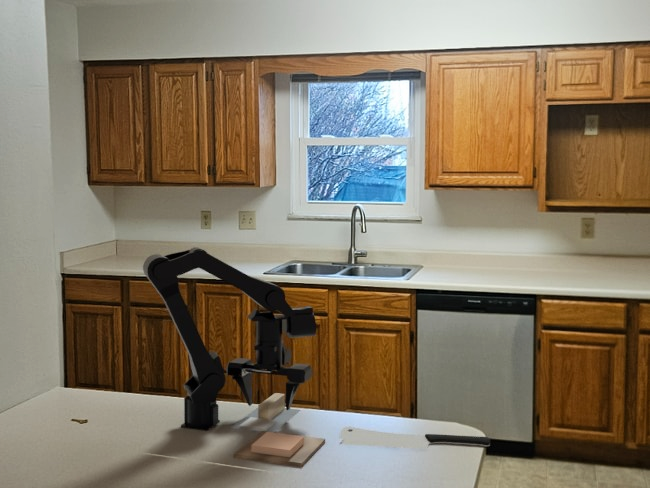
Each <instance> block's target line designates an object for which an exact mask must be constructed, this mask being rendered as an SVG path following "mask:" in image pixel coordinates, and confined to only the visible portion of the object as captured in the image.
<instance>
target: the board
mask: <svg viewBox="0 0 650 488" xmlns="http://www.w3.org/2000/svg"><path fill="white" fill-rule="evenodd" d="M266 432H269V431H261V432H258V434H257V435H255V436H253V438H251V439H250V440H249V441H248V442H246V443H245V444H244V445H243V446H241V447H240V448H239V449H238V450H237V451H235V452H234V453H233V458H234V459H235V458H236V459H242V460H243V459H244V460H249V461H256V462H257V461H258V462H264V463H271V464H278V465H284V466H292V467H300V468H302V467H303V466H304V465H305V464H307V462H308V461H309V460H310V459H311V458H312V457H313V456H314V455H315V454H316V452H317V451H319V450H320V448H321V447H322V446H324V444H325V443H326V438H321V437H314V436H307V435H303V436H304V444H303V445H302V446H301V447H300V448H299V449H298V450H297V451H296V452H295V453H294V454H293V455H292V456H291V457H290V458H287V457H280V456H273V455H266V454H259V453H253V452H251V445H252V444H253V443H254V442H256V441H257V440H258V439H259V438H260V437H262V436H263V435H264V434H265V433H266ZM273 433H277V431H276V432H273ZM280 433H281V434H285V433H283V432H280ZM287 434H288V435H293V433H292V434H290V433H287ZM295 435H296V436H301V435H298V434H295Z"/></svg>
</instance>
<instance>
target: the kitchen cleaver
mask: <svg viewBox="0 0 650 488" xmlns="http://www.w3.org/2000/svg"><path fill="white" fill-rule="evenodd" d="M338 439H340V440H341V439H343V440H341V442H339V445H344V446H345V445H347V446H364V447H365V446H366V447H381V448H382V447H383V448H398V449H401V448H402V449H415V450H416V449H418V450H429V445H435V444H436V445H437V444H439V445H455V444H463V445H462V446H471V445H477V446H476V447H483V448H489V447H490V446H491V438H489V437H487V436H476V435H475V436H473V435H456V434H455V435H454V434H453V435H452V434H440V433H439V434H435V433H425V434H422V435H421V434H409V433H398V432H397V433H395V432H394V433H393V432H385V431H378V430H377V431H376V430H372V429H371V430H370V429H365V428H360V427H355V426H343V427H342V429H341V431H340V433H339V436H338Z"/></svg>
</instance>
